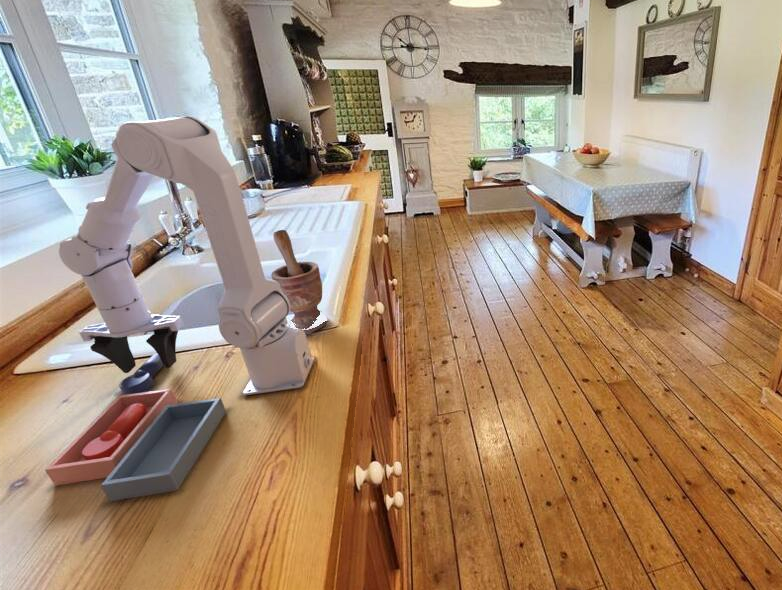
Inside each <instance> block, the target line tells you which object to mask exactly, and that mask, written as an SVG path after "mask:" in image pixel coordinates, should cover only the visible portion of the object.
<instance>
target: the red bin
mask: <svg viewBox="0 0 782 590" xmlns="http://www.w3.org/2000/svg"><path fill="white" fill-rule="evenodd" d="M135 403H141V404H143V405H145V407H146V414H145V415H144V417H143V418H142V419H141V420H140V421H139V422H138V424H137V425H136V426H135V427H134V428H133V429H132V431H131V432H130V433H129V434H128V435H127V436H126V438H125V439H124V441H123V442H122V444H121V445H120V446H119V447H118V448H117V449H116V451H115V452H114V453H113V454H112V455H111V456H110V457H107V458H100V459H94V460H87V461H86V459H85V458H84V456H83V455H82V451H83V449H84V447H85V446H86V445H87V444H89V443H90V442H91V441H93V440H94V439H96V438H98V437H100V436H101V435H102V434H103V433H104V432H105V431H106V430H107V429H108V428H109V427H110V425H111V424H112V423H113V422H114V421H115V420H116V419H117V418H118V417H119V416H120V415H121V414H122V413H123V411H124V410H125V409H126V408H127V407H128V406H130V405H132V404H135ZM172 404H179V402H178V399H177V397H176V395H175V393H174V391H173V389H172V388H168V389H167V388H166V389H160V390H159V389H157V390H152V391H151V390H150V391H146V392H143V393H136V394H128V395H123V394H121V395H118V396H117V397H116V398H115V399H114V400H113V401H112V402H111V403H110V404H109V405H108V406H107V407H106V408H105V409H103V411H102V412H101V413H100V414H99V415H98V416H97V417H96V418H95V419H94V420H93V421H92V422H91V423H90V424H89V425H88V426H87V427H86V428H85V429H84V430H83V431H82V432H81V433H80V434H79V435H78V436H77V437H76V438H75V439H74V440H73V441H72V442H71V443H70V444H69V445H68V446H67V447H66V448H65V449H64V450H63V451H62V452H61V453H60V454H59V455H58V456H57V457H56V458H55V459H54V460H53V461H52V462H51V463H50V464H49V465H48V466H47V467H46V468H45V469H44V471H45V473H46V474H47V476H48V477H49V479H50V481H52V484H53V485H54V486H62V485H68V484H74V483H80V482H81V483H82V482H87V481H92V480H100V479H106V478H107V477H108V476H109V475H110V473H111V472H112V471H113V470H114V469H115V467H116V466H117V465H118V464H119V462H120V461H121V460H122V459H123V458H124V456H125V455H126V454H127V453H128V451H129V450H130V449H131V448H132V447H133V445H134V444H135V443H136V442H137V441H138V439H139V438H140V437H141V436H142V434H143V433H144V432H145V431H146V430H147V428H148V427H149V426H150V425H151V423H152V422H153V421H154V420H155V419H156V417H157V416H158V415H159V414H160V412H161V411H162V410H163V409H164V407H165V406H166V405H172Z"/></svg>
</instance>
